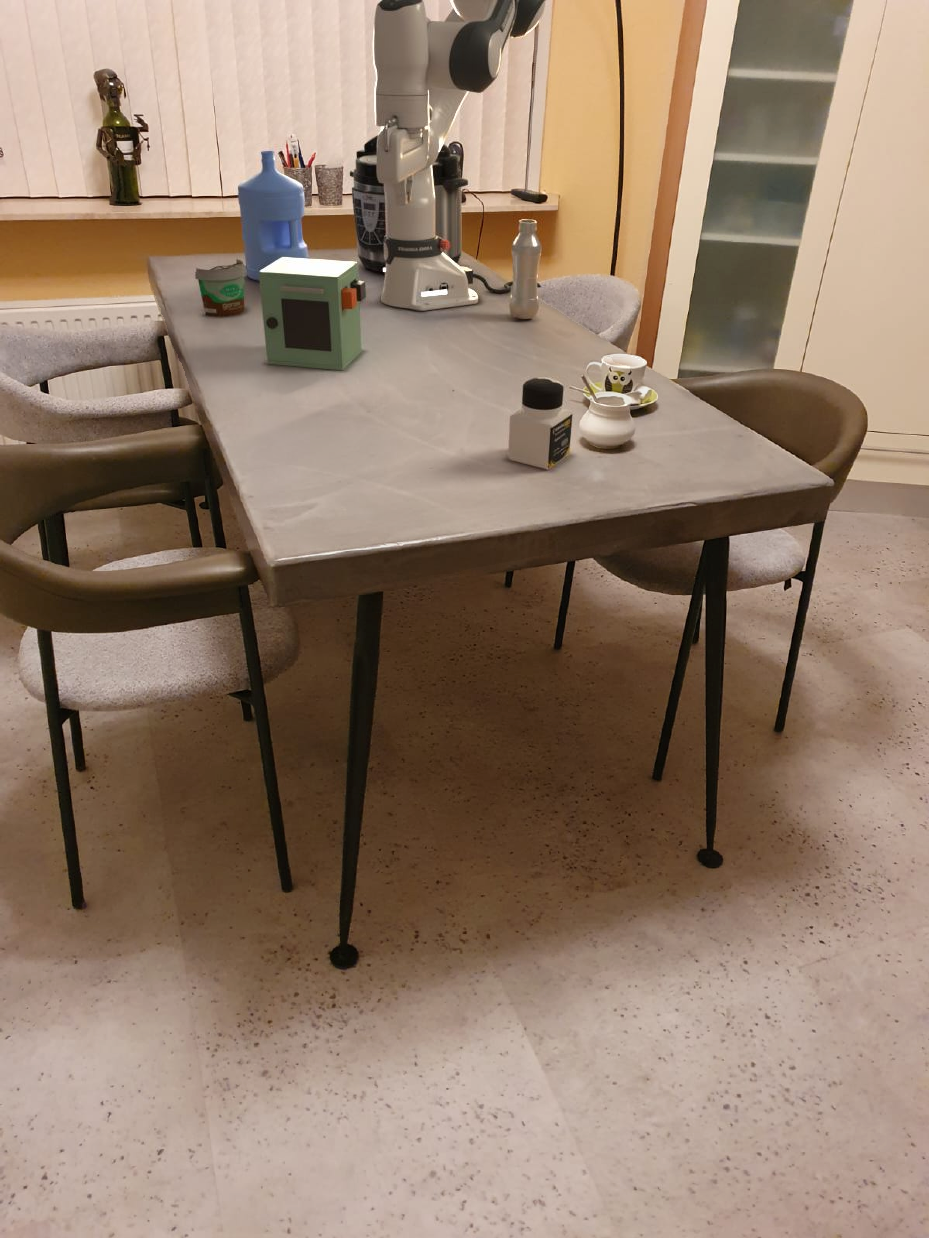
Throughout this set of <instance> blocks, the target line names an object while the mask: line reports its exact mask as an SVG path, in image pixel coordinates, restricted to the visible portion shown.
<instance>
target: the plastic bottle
mask: <svg viewBox="0 0 929 1238" xmlns="http://www.w3.org/2000/svg"><path fill="white" fill-rule="evenodd" d="M518 221H519V222H518V229H517V230H518V232H519V233H518V234H517V236H516V237H515V239H514V240H513V242H512V243H511V247H510V248H511V262H512V281H513V284H512V286H511V295H510V297H509V301H508V302H509V304H508V308H509V313H510V315H511V316H512V317H513V318H515V319H519V320H526V319H527V320H528V319H534V318H536V316H537V315H538V313H539V308H540V303H539V302H540V301H539V297H538V287H537V283H538V278H539V277H538V274H539V267H540V266H539V265H540V261H541V256H542V244H541V242H540V240H539V238H538V236H537V234H536V232H537V221H536V220H534V219H521V220H518Z"/></svg>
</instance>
